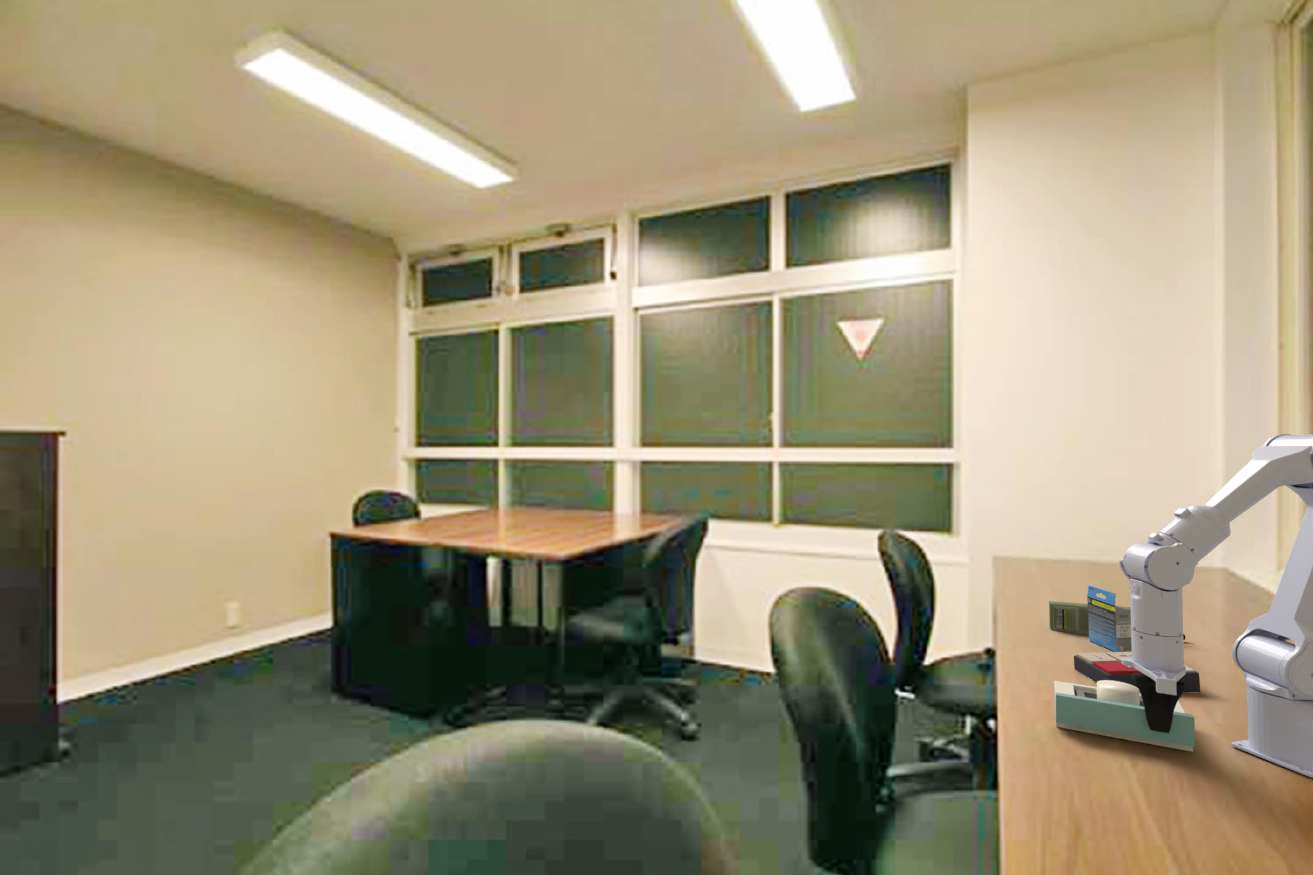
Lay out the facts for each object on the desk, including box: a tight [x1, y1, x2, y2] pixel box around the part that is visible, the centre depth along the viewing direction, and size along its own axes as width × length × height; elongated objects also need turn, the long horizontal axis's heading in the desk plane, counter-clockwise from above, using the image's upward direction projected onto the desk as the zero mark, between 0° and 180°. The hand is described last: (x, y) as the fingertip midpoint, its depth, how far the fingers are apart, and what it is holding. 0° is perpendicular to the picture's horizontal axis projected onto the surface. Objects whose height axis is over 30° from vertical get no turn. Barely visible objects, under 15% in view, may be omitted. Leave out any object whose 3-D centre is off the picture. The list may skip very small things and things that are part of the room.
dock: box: [1053, 680, 1194, 753], centre depth 97 cm, size 11×16×4 cm
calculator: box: [1073, 651, 1201, 692], centre depth 115 cm, size 11×4×15 cm
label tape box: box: [1086, 584, 1132, 652], centre depth 135 cm, size 9×4×12 cm, turn 0°
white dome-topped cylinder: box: [1096, 680, 1140, 706], centre depth 96 cm, size 5×5×4 cm
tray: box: [1055, 689, 1196, 748], centre depth 96 cm, size 11×16×4 cm
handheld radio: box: [1048, 600, 1186, 641], centre depth 143 cm, size 7×3×25 cm
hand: (1158, 730), depth 88 cm, fingers closed
